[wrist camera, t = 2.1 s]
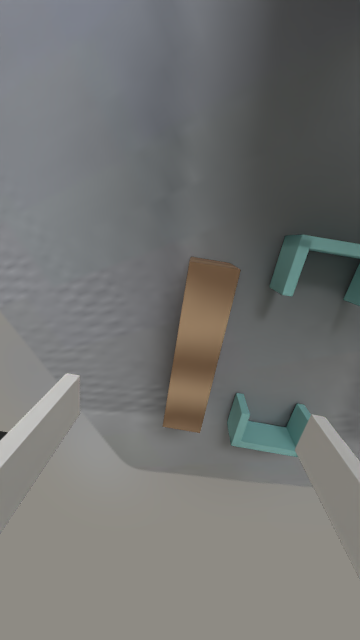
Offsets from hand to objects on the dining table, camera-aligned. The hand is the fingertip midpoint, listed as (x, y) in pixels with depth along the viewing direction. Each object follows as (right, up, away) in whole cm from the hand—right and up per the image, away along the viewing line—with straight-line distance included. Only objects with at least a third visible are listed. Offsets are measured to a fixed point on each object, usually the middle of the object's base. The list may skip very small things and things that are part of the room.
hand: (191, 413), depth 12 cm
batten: (+1, +4, +9) cm, 10 cm away
